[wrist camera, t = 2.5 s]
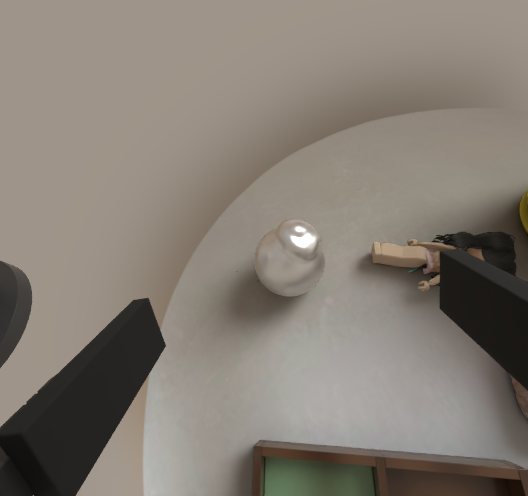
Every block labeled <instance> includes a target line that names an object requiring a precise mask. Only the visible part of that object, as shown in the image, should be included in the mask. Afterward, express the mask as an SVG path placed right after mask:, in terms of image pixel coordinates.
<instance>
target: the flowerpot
mask: <svg viewBox="0 0 528 496" xmlns="http://www.w3.org/2000/svg"><path fill="white" fill-rule="evenodd" d="M520 217H521V221H522V223H523V226H524V228H525V230H526V232H527V233H528V189H527V191H526V192H525V193H524V195H523V197H522V199H521V202H520Z"/></svg>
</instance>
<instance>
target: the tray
mask: <svg viewBox="0 0 528 496" xmlns="http://www.w3.org/2000/svg"><path fill="white" fill-rule="evenodd" d="M252 496H528V469H525V468H523V467H520V466H518V465H516V464H513V463H511V462H508V461H506V460H496V459H484V458H472V457H460V456H448V455H435V454H423V453H411V452H399V451H387V450H375V449H362V448H350V447H338V446H326V445H314V444H302V443H289V442H277V441H265V440H259V442H258V443H257V444H256V445H255V446H254V456H253V479H252Z"/></svg>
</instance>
